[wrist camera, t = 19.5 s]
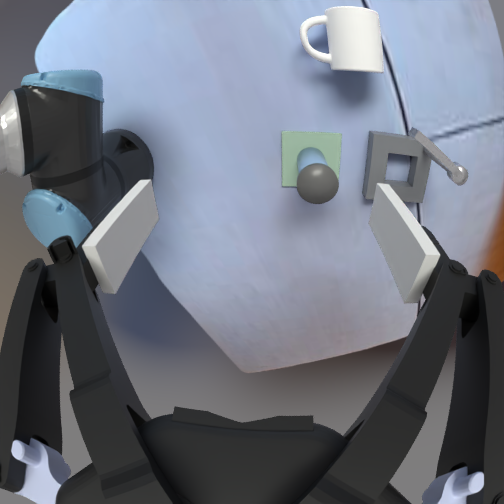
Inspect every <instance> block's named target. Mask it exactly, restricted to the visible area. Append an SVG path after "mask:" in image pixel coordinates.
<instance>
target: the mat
mask: <svg viewBox="0 0 504 504" xmlns="http://www.w3.org/2000/svg"><path fill="white" fill-rule="evenodd" d="M341 138H342V134H340V133H324V132H295V131H282V186H297V177H298V174H299V172H298V165H297V156H298V154H299V153H300V151H301V150H303V149H305V148H308V147H314V148H317V149H319V150H320V151H321V152H322V153H323V155H324V157H325V159H326V162H327V164H328V166H329V167H330V168H331V169H333V171H334V172H335V174H336V176H337V178H338V179H339V167H340V153H341Z"/></svg>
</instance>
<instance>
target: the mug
mask: <svg viewBox="0 0 504 504" xmlns="http://www.w3.org/2000/svg"><path fill="white" fill-rule="evenodd" d="M324 13H325V15H324V16H315V17H312V18H309V19H307V20H306V21H304V22H303V24H302V25H301V28H300V39H301V42H302V45H303V47H304V49H305V50H306V52H307V53H308V54H309V55H310V56H311V57H313V58H314V59H316V60H318V61H321V62H324V63H329V64H330V66H331V69H332V70H346V71H362V72H374V73H384V65H383V51H382V40H381V30H380V22H379V15H378V13H377V12H375V11H373V10H371V9H367V8H361V7H351V6H342V7H333V8H329V9H327V10H325V12H324ZM324 24H325V25H326V28H327V37H328V46H329V54H325V53H321V52H318V51H316V50H315V49H313V48H312V47H311V46H310V44H309V42H308V38H307V31H308V29H309V28H311V27H313V26H316V25H324Z"/></svg>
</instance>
